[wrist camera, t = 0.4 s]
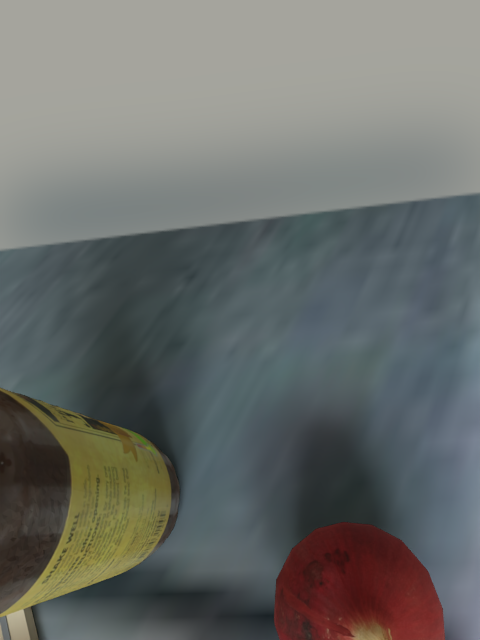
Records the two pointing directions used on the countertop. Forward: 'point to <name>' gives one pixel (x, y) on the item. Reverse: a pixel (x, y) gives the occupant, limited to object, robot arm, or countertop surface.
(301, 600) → the onion
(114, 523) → the sauce bottle
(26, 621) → the beige flat board
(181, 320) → the countertop surface
